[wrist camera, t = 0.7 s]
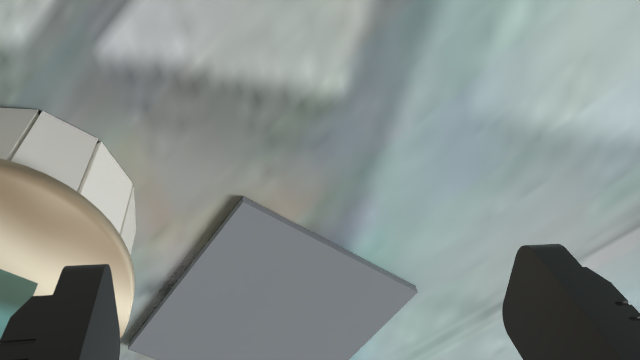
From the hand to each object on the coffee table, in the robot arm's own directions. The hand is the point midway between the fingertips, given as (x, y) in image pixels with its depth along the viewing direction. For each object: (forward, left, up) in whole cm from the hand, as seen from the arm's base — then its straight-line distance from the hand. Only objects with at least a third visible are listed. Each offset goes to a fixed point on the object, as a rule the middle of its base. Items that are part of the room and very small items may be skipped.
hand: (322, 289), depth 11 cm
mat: (+17, +12, -20) cm, 29 cm away
